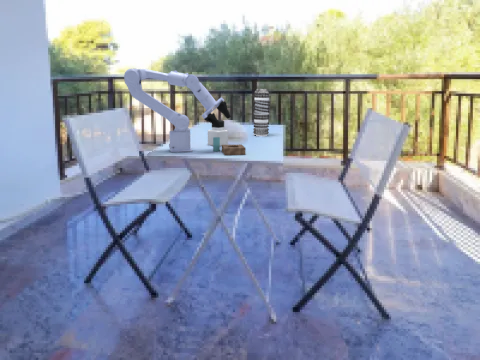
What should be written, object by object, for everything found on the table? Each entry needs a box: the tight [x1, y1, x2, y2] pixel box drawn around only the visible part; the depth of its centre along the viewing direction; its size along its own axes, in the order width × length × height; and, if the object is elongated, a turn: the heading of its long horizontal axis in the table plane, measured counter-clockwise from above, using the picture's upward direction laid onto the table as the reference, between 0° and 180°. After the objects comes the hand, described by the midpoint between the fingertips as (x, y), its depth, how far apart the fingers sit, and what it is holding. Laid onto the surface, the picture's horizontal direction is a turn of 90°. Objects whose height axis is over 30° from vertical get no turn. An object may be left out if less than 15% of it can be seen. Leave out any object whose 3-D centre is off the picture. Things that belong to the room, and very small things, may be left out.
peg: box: [212, 137, 221, 153], centre depth 210 cm, size 3×3×6 cm
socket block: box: [221, 143, 247, 156], centre depth 205 cm, size 9×9×3 cm
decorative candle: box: [252, 88, 271, 137], centre depth 255 cm, size 9×9×25 cm
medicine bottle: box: [207, 119, 229, 147], centre depth 225 cm, size 7×7×12 cm
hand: (224, 122), depth 209 cm, fingers open, 7 cm apart
